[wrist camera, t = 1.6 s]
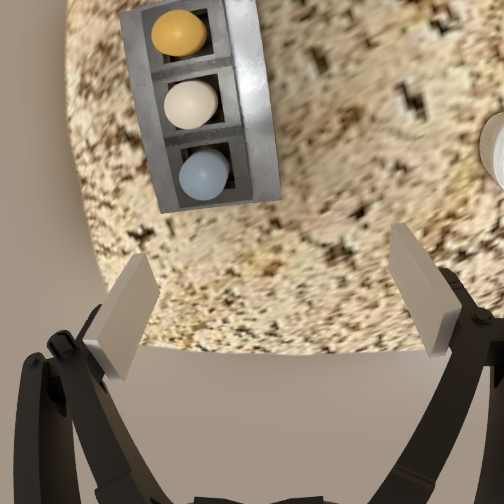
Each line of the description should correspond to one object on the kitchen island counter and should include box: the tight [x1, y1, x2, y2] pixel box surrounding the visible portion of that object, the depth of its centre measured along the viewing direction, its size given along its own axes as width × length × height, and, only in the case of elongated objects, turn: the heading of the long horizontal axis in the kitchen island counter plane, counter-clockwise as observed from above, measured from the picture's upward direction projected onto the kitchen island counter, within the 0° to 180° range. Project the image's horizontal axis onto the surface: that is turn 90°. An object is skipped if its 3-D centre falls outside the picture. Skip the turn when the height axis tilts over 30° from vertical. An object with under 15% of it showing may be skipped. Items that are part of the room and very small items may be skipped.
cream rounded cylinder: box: [164, 81, 218, 129], centre depth 28 cm, size 4×4×7 cm
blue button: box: [179, 148, 229, 200], centre depth 32 cm, size 4×4×7 cm
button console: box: [119, 0, 282, 214], centre depth 31 cm, size 24×14×6 cm, turn 8°
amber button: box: [151, 10, 207, 57], centre depth 25 cm, size 4×4×7 cm
